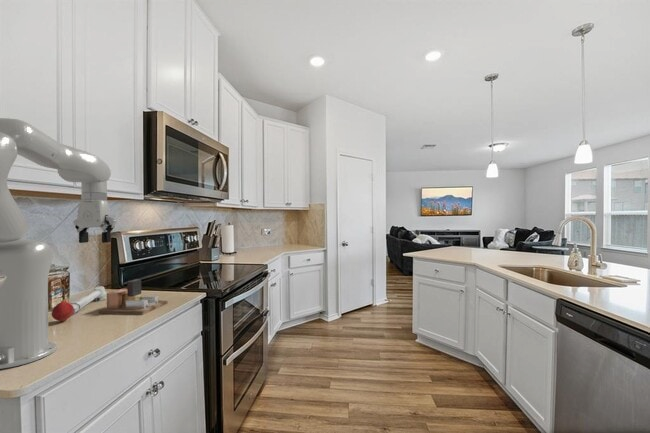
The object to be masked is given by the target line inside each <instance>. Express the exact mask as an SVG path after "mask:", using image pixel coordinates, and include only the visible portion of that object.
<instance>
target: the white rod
mask: <svg viewBox="0 0 650 433" xmlns="http://www.w3.org/2000/svg"><path fill="white" fill-rule="evenodd" d="M107 293H108V291H107V290H106V289H105V287H104V286H101V285H100V286H97V287H94V290H93V291H92V292H90V293H88V294H86V295H84V296H82V297H80V298H79V299H77V300H75V301H73V302H69V303H70V304H71V305H72V306H73V307H74V312H73V314H72V315H71V316H70V317H72V316H73V315H75V314H78V313H79V312H80V311H82V309H83V308H84V307H86V306H87V305H89V304H90V303H91V302H102V301H104V300H107Z"/></svg>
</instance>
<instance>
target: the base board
mask: <svg viewBox="0 0 650 433" xmlns="http://www.w3.org/2000/svg"><path fill="white" fill-rule="evenodd" d="M167 304H168V300H162V299H161V300H160V299H158V303H156V304H154V305H152V306H149V307H147V308H145V309H134V308H126V305H125V306H122V307H120V308H107V307H104V308H102V309H99V310H98V314H107V315H108V314H110V315H115V314H116V315H145V314H147V313H149V312H152V311H154V310H156V309H158V308H161V307H163V306H166V305H167Z"/></svg>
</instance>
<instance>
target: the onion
mask: <svg viewBox="0 0 650 433" xmlns="http://www.w3.org/2000/svg"><path fill="white" fill-rule="evenodd" d="M70 303H71V302H68V301H67V299H62V300H61V301H60V302H59V303H57V304H56V305H55V306H54V307H53V309H52V310H51V317H52V318H53V319H54V320H56V321H58V322H61V323H64V322H66V321H67V320H68V319H70V318H71V317H72V316H73V315H74V314H73V312H74V307H73V306H72V305H71V304H70ZM72 314H73V315H72ZM71 315H72V316H71Z"/></svg>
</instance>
